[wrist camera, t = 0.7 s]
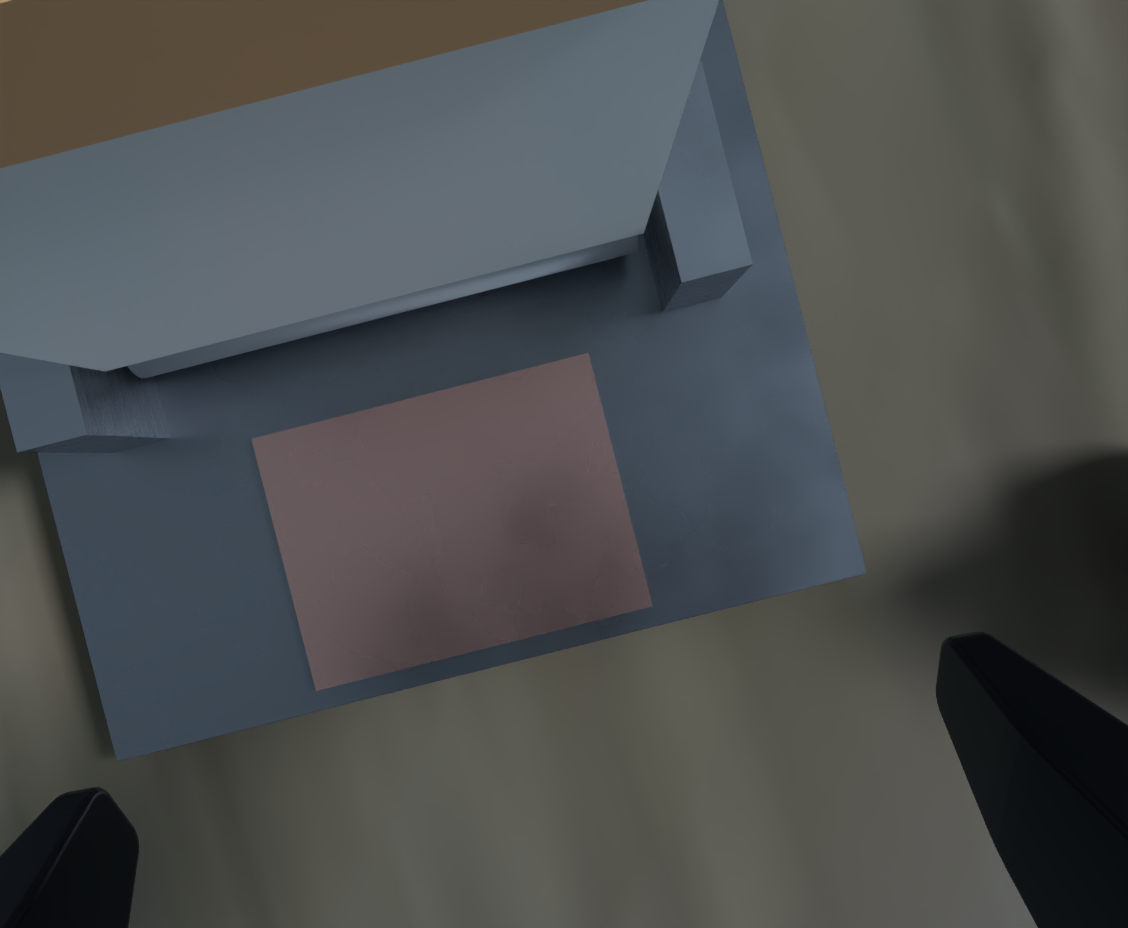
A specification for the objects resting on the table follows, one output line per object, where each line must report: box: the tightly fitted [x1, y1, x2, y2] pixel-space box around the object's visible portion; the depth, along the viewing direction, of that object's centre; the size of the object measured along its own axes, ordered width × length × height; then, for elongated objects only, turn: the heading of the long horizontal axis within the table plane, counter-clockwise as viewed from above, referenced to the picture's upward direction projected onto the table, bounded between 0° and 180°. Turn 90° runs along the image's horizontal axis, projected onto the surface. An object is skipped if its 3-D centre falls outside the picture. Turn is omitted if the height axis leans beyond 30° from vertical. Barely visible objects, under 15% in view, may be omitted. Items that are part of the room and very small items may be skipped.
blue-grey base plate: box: [0, 0, 867, 761], centre depth 19 cm, size 18×18×4 cm
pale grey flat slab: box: [0, 0, 719, 378], centre depth 12 cm, size 2×11×14 cm, turn 104°
